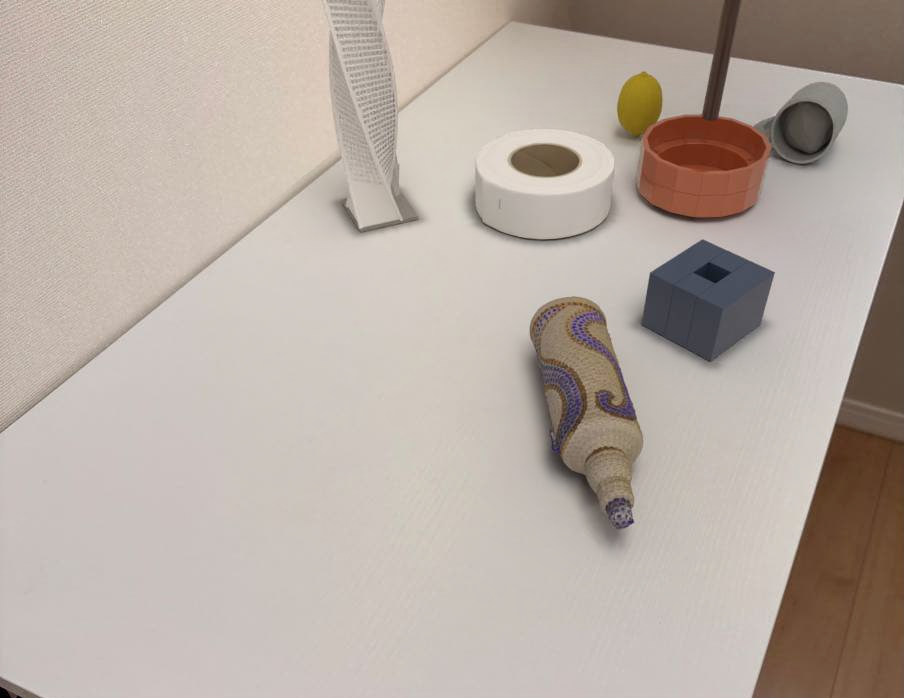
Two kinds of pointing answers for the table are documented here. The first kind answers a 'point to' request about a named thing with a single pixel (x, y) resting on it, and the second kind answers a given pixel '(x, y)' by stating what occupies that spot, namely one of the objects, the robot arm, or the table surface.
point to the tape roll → (544, 183)
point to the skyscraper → (365, 113)
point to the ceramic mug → (807, 123)
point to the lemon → (639, 103)
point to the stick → (721, 59)
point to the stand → (706, 299)
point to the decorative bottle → (588, 401)
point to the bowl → (702, 165)
